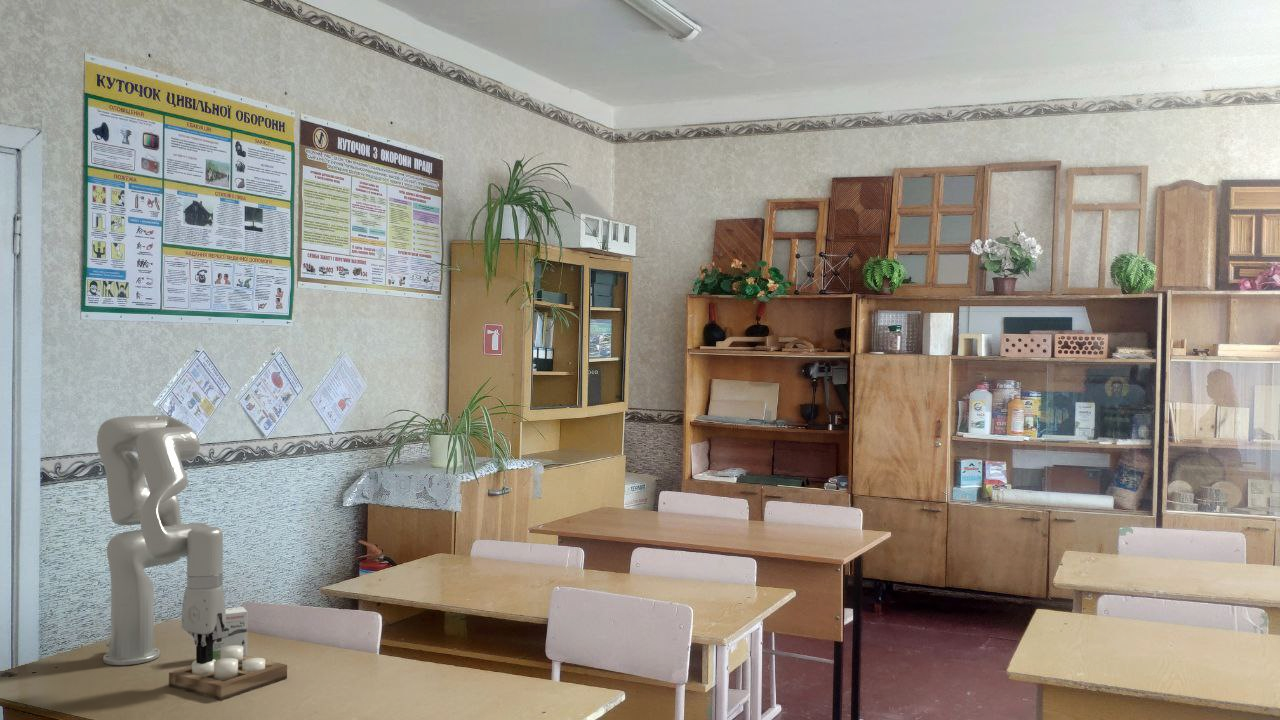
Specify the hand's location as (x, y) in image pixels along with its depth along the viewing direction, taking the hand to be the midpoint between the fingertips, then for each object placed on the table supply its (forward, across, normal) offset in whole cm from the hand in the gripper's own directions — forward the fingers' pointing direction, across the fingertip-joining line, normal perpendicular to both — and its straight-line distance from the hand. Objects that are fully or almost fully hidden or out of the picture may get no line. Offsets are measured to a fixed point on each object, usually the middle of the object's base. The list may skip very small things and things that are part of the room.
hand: (204, 661), depth 233 cm
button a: (+4, 0, 0) cm, 4 cm away
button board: (+5, +3, +4) cm, 7 cm away
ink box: (+5, -14, +17) cm, 22 cm away
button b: (+2, 0, +8) cm, 8 cm away
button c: (+2, +7, 0) cm, 8 cm away
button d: (+4, +7, +8) cm, 11 cm away
